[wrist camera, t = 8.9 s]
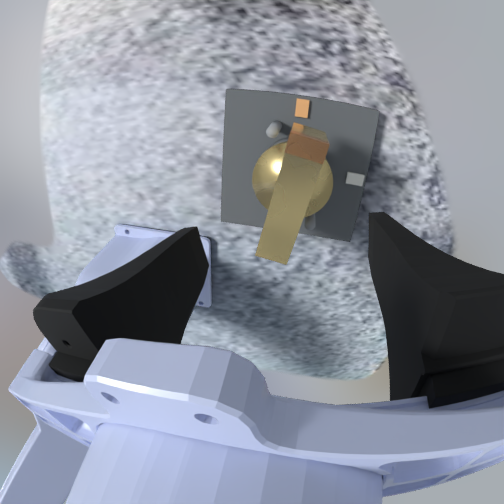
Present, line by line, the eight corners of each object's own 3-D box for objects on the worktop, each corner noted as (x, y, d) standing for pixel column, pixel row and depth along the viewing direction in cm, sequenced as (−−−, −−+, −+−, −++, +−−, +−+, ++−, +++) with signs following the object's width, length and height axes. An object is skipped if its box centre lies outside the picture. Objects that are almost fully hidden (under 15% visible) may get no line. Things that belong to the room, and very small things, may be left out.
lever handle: (312, 237, 19) (311, 272, 16) (242, 216, 19) (228, 248, 16) (348, 138, 15) (359, 155, 12) (268, 113, 15) (258, 123, 12)
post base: (223, 216, 23) (211, 238, 20) (229, 88, 18) (214, 91, 15) (349, 236, 22) (353, 261, 19) (376, 109, 16) (390, 116, 14)
